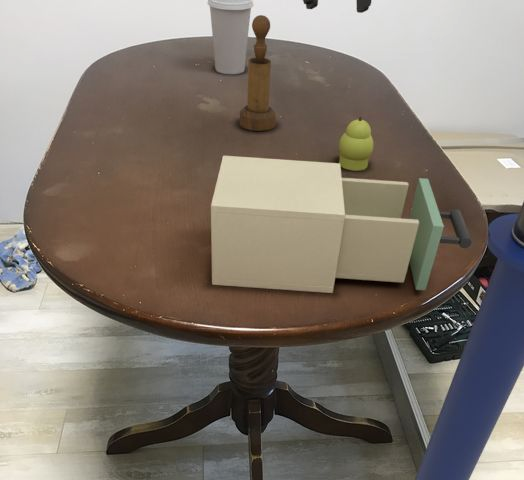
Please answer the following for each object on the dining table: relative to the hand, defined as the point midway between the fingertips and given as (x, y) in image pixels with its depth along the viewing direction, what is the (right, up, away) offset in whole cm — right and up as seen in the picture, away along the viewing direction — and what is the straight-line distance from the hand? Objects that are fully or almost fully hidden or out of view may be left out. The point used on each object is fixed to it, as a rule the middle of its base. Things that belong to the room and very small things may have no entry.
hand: (338, 9), depth 85 cm
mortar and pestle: (-12, -7, +25) cm, 28 cm away
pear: (+4, -18, +14) cm, 23 cm away
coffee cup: (-18, +14, +47) cm, 52 cm away
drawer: (+5, -37, -9) cm, 39 cm away
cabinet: (-9, -37, -8) cm, 39 cm away
